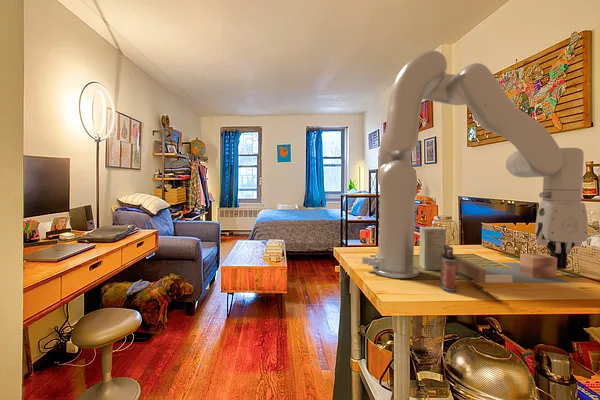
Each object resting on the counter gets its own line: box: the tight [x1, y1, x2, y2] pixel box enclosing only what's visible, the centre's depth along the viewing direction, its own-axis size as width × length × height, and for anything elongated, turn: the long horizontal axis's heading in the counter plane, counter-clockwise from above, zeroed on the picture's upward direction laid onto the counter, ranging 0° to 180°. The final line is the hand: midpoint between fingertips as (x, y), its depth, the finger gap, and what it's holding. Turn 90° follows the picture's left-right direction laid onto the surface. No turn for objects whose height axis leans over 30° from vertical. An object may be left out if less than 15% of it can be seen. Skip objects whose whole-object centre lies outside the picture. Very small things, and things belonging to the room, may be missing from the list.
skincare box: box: [418, 226, 447, 271], centre depth 88 cm, size 6×4×12 cm
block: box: [519, 253, 558, 278], centre depth 77 cm, size 6×4×5 cm
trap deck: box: [453, 254, 571, 289], centre depth 81 cm, size 22×18×4 cm
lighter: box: [439, 244, 458, 294], centre depth 73 cm, size 8×3×10 cm, turn 163°
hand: (558, 267), depth 77 cm, fingers closed
